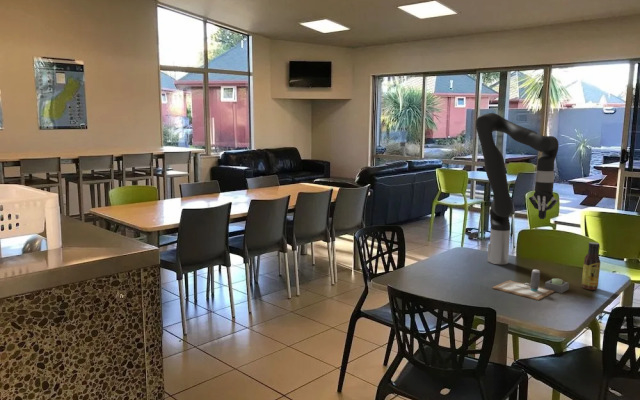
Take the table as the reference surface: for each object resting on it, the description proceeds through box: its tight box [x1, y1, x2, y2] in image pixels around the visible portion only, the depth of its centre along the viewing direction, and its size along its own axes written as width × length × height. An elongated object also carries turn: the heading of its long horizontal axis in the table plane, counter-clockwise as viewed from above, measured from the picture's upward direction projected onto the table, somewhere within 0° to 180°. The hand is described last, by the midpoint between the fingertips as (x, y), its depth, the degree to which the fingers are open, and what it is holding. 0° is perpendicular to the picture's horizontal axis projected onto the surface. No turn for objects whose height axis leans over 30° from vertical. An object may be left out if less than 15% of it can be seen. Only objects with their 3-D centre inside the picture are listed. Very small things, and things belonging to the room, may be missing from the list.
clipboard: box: [491, 279, 555, 301], centre depth 218 cm, size 20×15×1 cm
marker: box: [530, 269, 541, 291], centre depth 216 cm, size 3×3×9 cm
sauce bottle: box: [581, 241, 601, 291], centre depth 220 cm, size 6×6×20 cm
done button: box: [552, 277, 563, 285], centre depth 220 cm, size 4×4×4 cm
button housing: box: [544, 278, 570, 294], centre depth 220 cm, size 7×7×3 cm
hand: (541, 218), depth 235 cm, fingers closed
